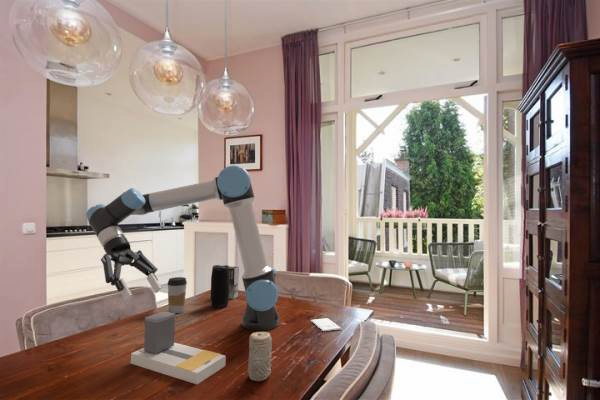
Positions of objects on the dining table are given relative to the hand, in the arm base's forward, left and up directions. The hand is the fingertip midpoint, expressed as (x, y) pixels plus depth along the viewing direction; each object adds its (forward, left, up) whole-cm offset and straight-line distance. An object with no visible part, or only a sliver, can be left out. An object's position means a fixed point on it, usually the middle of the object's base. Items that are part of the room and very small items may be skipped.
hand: (144, 294), depth 106 cm
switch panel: (-9, +13, -19) cm, 25 cm away
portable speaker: (-37, -41, -19) cm, 59 cm away
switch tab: (-4, +6, -16) cm, 17 cm away
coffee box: (-46, -56, -19) cm, 75 cm away
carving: (-28, +31, -19) cm, 46 cm away
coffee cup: (-17, -41, -19) cm, 49 cm away
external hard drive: (-68, +5, -20) cm, 71 cm away
